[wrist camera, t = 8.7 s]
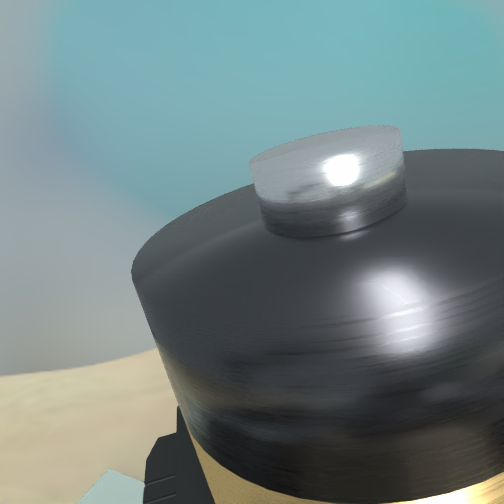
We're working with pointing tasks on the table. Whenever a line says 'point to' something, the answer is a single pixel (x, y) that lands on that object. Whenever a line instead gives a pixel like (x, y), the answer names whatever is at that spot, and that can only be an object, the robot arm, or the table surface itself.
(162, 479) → the robot arm
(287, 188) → the battery cell
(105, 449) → the table surface
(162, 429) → the table surface
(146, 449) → the table surface
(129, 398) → the table surface
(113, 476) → the tester dock
